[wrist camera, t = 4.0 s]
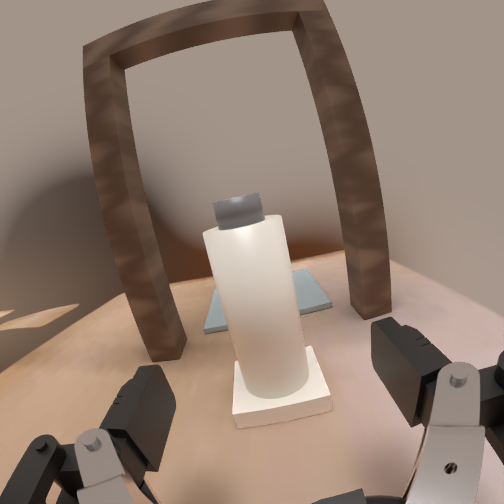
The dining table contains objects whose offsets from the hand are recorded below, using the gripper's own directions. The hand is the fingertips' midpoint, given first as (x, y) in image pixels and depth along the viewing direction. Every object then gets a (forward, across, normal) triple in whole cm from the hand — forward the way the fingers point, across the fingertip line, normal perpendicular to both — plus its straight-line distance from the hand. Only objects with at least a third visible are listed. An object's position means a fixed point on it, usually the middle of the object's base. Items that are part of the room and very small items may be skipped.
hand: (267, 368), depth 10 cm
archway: (+16, 0, +8) cm, 18 cm away
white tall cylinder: (+7, 0, +8) cm, 10 cm away
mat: (+25, 0, +8) cm, 26 cm away
